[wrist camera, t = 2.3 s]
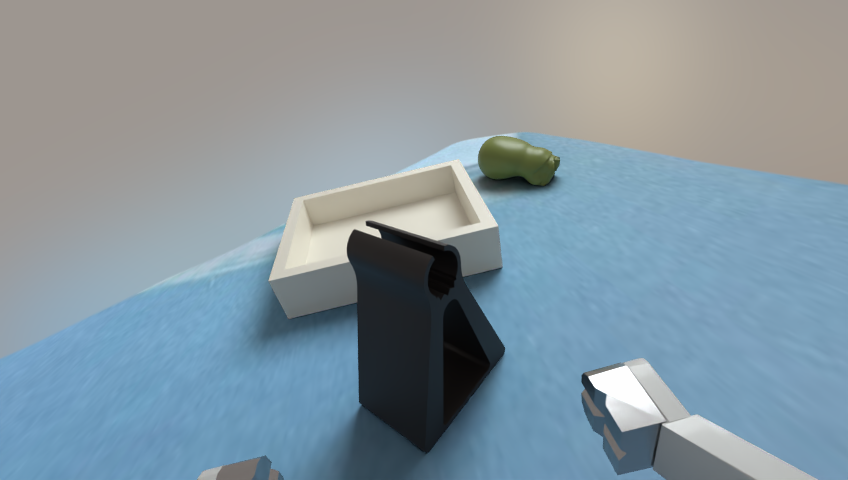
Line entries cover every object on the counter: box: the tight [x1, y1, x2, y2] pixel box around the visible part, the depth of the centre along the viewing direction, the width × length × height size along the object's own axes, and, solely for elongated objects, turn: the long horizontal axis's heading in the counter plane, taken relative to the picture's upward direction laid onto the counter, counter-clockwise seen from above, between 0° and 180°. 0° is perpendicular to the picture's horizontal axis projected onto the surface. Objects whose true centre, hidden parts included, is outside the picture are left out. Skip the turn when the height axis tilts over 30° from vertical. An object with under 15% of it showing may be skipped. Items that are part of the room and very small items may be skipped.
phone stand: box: [347, 221, 505, 453], centre depth 25 cm, size 9×6×12 cm, turn 139°
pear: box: [478, 136, 560, 186], centre depth 49 cm, size 6×5×10 cm
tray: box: [269, 159, 503, 319], centre depth 42 cm, size 20×16×4 cm
